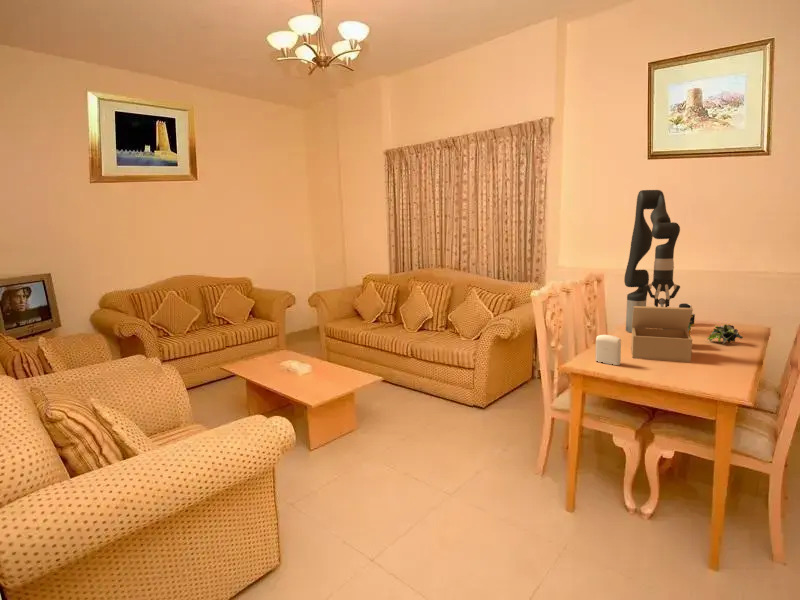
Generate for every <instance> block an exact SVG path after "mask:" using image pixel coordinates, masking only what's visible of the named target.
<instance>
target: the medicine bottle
mask: <svg viewBox="0 0 800 600" xmlns="http://www.w3.org/2000/svg"><path fill="white" fill-rule="evenodd" d="M678 308H693V305H692V304H690V303H679V304H678ZM695 316H696V314H695V313H694V312H692V315H691V319H690V322H689V324H691V327H693V328H694V327H695V319H696V317H695Z"/></svg>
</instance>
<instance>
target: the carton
mask: <svg viewBox="0 0 800 600" xmlns="http://www.w3.org/2000/svg"><path fill="white" fill-rule="evenodd" d="M630 349H631V356H632V358H633V359H639V358H642V359H641V360H655V361H667V362H678V363H679V362H680V363H691V362H692V352H693V351H692V349H693V338H692V336H691V334H690V335H689V333H688V331H687V330H668V329H653V328H632V332H631V347H630Z"/></svg>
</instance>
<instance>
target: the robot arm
mask: <svg viewBox="0 0 800 600" xmlns="http://www.w3.org/2000/svg"><path fill="white" fill-rule="evenodd" d="M635 205H636V207H635V216H634V224H633V225H634V226H633V230H632V236H631V241H630V247H629V248H630V250H629V255H628V259H627V260H628V262H627V265H626V269H625V273H624V281H623V282H624V286H626V288H637V289H635V290H634V291H632V292H630V293H628V294H626V316H625V319H626V320H625V331H626V332H628V333H632V328H633V327H632V318H633V309H634V306H647V300H648V299H647V298H648V295H649V297H650V298H651V299H654V300H653V301H654V303H653V305H654V307H659V303H658V300H659V295H660V292H664V293H665V300H666V303H665V304H664V307H670V300H671V299H675V297H676V296H677V294H678V292H679V291H680V289H681V286H680V285H679V284H676V283H674V269H675V263H674V254H675V247H676V243H677V241H678V238H679V235H680V232H681V227H680V224H679V223H677V222H673V221H672V222H671V218H670V215H669V213H668V212H667V206H666V199H665V195H664V192H663V191H662V190H660V189H645V190H639V191H638V194H637V197H636V204H635ZM645 210H652V211H651V213H650V217H649V218H650V221H651V224H652V228H650V226H649V224H648V223H647V220H646V218H645V214H644V213H645ZM653 238H654V239H656V240H667V242H665V243H663V244H662V243H661V244H659V245H656V246H655V250H654V251H655V252H654V253H655V254H654V262H653V275H652V276H653V277H652V278H653V279H652V282H651V283H650V275H649V272H648V270H647V269H637V266H638V264H639V263H640V261H641V260H642V259H643V258H644V257H645V256H646V255H647V254H648V252H649V251H650V249H651V247H652V243H653ZM652 288H654V289H655V293H654V294H653V292H652V290H651V289H652ZM672 288H673V291H672V293H671V294H670V290H671V289H672Z"/></svg>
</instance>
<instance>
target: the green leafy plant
mask: <svg viewBox="0 0 800 600" xmlns="http://www.w3.org/2000/svg"><path fill="white" fill-rule="evenodd" d="M714 327H715V328H713V331H712V332H711V334H710V335H709V336H708V337H707V338H706V339H707V341H709V342H711V341H712V340H714V339H717V340H718V342H719V343H721V341H722V344H721V345H722V346H723V345H724V344H725V343H726V342H727V343H731V342H733V343H735V342H736V338H739V339H744V337H743V336H742V335H740V332H738V331H739V330H738V329H737V328H735V326H734V325H731V324H727V323H724V325H720V326H718V325H714Z"/></svg>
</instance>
